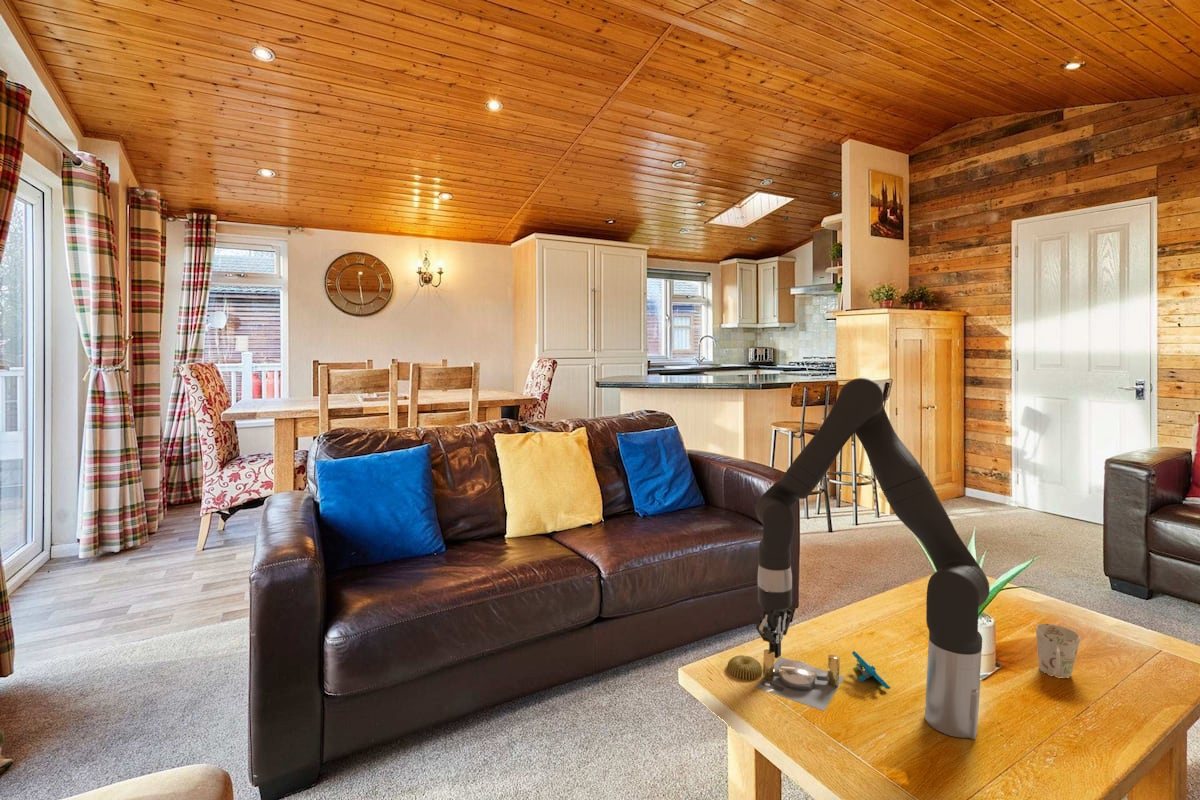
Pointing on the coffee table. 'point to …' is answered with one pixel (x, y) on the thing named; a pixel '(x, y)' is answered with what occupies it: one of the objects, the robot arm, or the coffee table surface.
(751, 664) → the sculpture
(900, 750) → the coffee table surface
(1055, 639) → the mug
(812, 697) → the board
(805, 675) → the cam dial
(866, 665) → the gear
